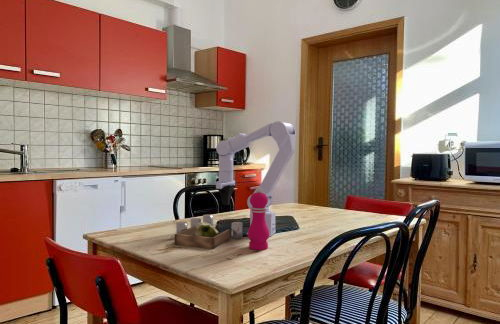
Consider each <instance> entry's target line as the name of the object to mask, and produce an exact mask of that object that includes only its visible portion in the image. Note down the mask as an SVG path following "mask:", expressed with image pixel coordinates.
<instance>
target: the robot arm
mask: <svg viewBox="0 0 500 324" xmlns="http://www.w3.org/2000/svg"><path fill="white" fill-rule="evenodd" d="M296 135H297V132H296V129H295V127H294V125H293V124H292V123H290V122H284V121H279V120H278V121H277V120H276V121H274V122H271V123H270V122H269V123H268V124H266V125H264V126H262V127H260V128H258V129H256V130H254V131H252V132H250V133H248V134H246V133H241V132H239V133H237V134H236V135H235V136H234V137H228V138H227V140H226V141H225V140H220V141H219V142H217V144H216V147H215V148H216V152H217V154H218V181H215V183H216V184H215V189H217V190H218V193H219V195H220V198H221V202H222V205H223V206H229V205H230V203H231V199H232V198H231V197H232V194H233V192H234V190H235V186H236V180H234V156H235V154H236V153H237V152H239V151H240V152H241V150H244V149H246V148H249V147H250V145H251V143H253V142H255V141H257V140H261V139H264V138H266V137H272V138H273V140H274V141H275V142H276V145H277V146H278V151H277V153H276V155H275V157H274V159H273V161H272V162H271V164H270V166H269V169H268V171H267V172H266V174H265V176H264V178H263V179H262V181H261V184H260V185H259V186H258V187H257V188H261V190H262V191H261V193H264V194H265V195H266V196H267V198H268V203H267V205H266V206H265V207H266V212H265V221H266V224H267V227H268V229H269V238H270V237H271V236H273V235H274V234H275V233H277V232H276V212H275V211H270V206H271V205H272V202H273V196H274V190H275V188H276V186H277V185H278V183H279V180H280V179H281V177H282V175H283V173H284V171H285V170H286V167H287V166H288V164H289V162H290V160H291V159H292V157H293V154H294V153H295V151H296ZM257 188H256V189H255V190H254V191H253V193H252V194H254V193H257V191H256V190H257ZM250 197H251V195H250V196H248V198H247V199H246V203H247V206H248V208H249V211H250V213H249V216H250V217H249V218H250V220H249V221H250V222H249V223H250V224H249V226H250V225H251V223H252V218H253V212H252V211H251V210H252V209H251V207H252V205H251V204H250ZM246 235H248V232H246Z"/></svg>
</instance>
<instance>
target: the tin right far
mask: <svg viewBox="0 0 500 324" xmlns="http://www.w3.org/2000/svg"><path fill="white" fill-rule="evenodd" d="M175 225H176V226H175V228H176V229H175V230H176V231H175V234H177V233H179V232H182V231H184V230H186V229H188V222H187V221H178V222H175Z"/></svg>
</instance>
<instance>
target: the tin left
mask: <svg viewBox="0 0 500 324" xmlns="http://www.w3.org/2000/svg"><path fill="white" fill-rule="evenodd" d="M243 225H244V224H243V222H241V221H234V222H231V239H232V240H242V239H243V232H244V231H243V229H244V228H243Z"/></svg>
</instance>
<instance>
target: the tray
mask: <svg viewBox="0 0 500 324" xmlns="http://www.w3.org/2000/svg"><path fill="white" fill-rule="evenodd" d="M195 233H196V228H195V226H194V227H191V226H190V227H189V228H187V229H186V230H184V231H182V232H179V233H177V234H176V233H174V245H175V246H176V245H177V246H185V247H192V248H193V247H194V248H202V249H211V250H212V249H213V250H215V248H218V247H219V246H221V245H222V244H224V243H226V242H228V241H229V240H231V229H230V228H229V229H225V230H224V231H222V232H221V233H218V235H216V236H214V237H202V236H195Z"/></svg>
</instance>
